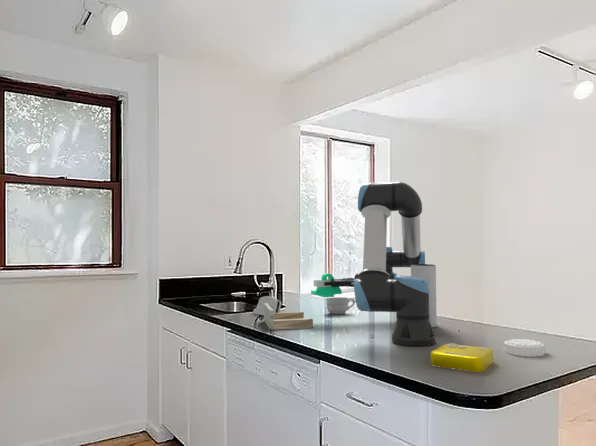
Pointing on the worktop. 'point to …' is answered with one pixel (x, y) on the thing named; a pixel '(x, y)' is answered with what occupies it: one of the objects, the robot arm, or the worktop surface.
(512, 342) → the mooncake
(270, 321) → the dock
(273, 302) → the grey rounded piece
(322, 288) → the camera mount
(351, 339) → the worktop surface
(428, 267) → the speaker
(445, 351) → the element tile
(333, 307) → the teacup
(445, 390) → the worktop surface
